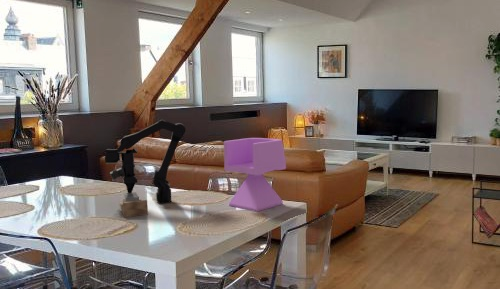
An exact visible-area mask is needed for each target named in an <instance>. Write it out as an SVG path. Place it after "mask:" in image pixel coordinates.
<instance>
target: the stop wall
mask: <svg viewBox="0 0 500 289" xmlns="http://www.w3.org/2000/svg"><path fill="white" fill-rule="evenodd" d="M140 200H141V201H130V202H123V201H122V203H123V213H124V215H123V217H124V218H126V217H134V216H135V217H137V216H145V215H147V216H148V213H149V212H148V200H147V199H143V200H142V199H140ZM123 213H122V214H123Z"/></svg>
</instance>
